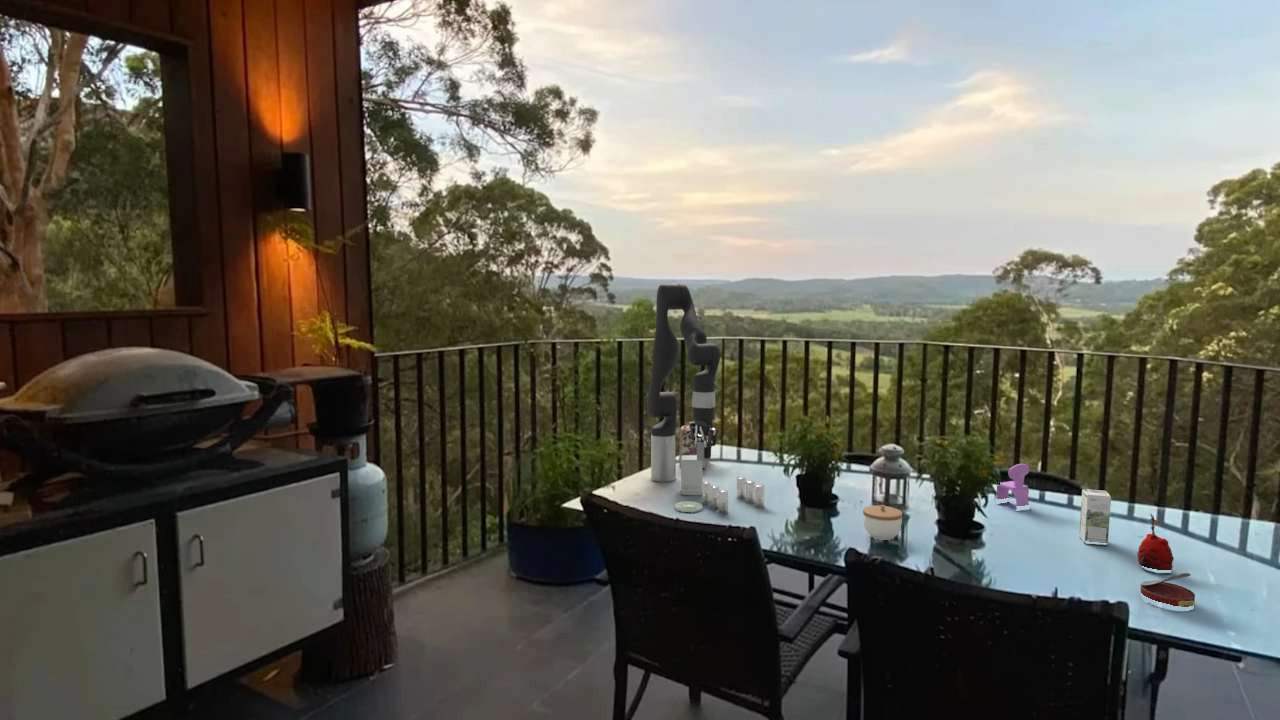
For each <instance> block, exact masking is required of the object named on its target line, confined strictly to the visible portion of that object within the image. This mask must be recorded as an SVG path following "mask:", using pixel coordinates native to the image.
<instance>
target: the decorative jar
mask: <svg viewBox="0 0 1280 720" xmlns="http://www.w3.org/2000/svg"><path fill="white" fill-rule="evenodd" d="M690 423H695V421H689V422H688V424H685V425H682V426H681V427H680V432H679V435H678V437H679V451H678V452H679V458H678V460H679V468H680V469H681V456H684V455H696V444H695V441H692V436H691V429H690ZM694 430H695V429H694ZM694 436H695V433H694ZM705 437H709V436H705ZM710 461H711V459H710V460H708V461H702V468H704V469H703V470H707V468H708V469H709V466H710Z"/></svg>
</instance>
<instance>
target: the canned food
mask: <svg viewBox="0 0 1280 720" xmlns="http://www.w3.org/2000/svg"><path fill="white" fill-rule="evenodd" d="M1191 575H1192V573H1189V572H1186V573H1185V572H1183V573H1180V574H1178V575H1177V574H1174V575H1171V576H1168V577H1167V578H1163V579H1162V578H1161V579H1153V580H1149V581H1148V580H1147V581H1143V582H1141V583H1140V592H1141V593H1142V594H1143V595H1144V596H1146V597H1148V598H1150V599H1152V600H1155V601H1158V602H1162V603H1166V604H1170V605H1173V606H1181V607H1189V606H1193V605H1194V606H1195V597H1196V594H1195V593H1194V592H1193V591H1192V590H1190V589H1189V588H1187V587H1184V586H1182V585H1179V584H1174V583H1173V582H1168V581H1173V580H1177V579H1178V580H1179V579H1182V578H1187V577H1191Z"/></svg>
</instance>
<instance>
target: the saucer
mask: <svg viewBox="0 0 1280 720" xmlns="http://www.w3.org/2000/svg"><path fill="white" fill-rule="evenodd" d="M675 509H676V510H675ZM674 510H675V511H676V512H679V511H681V512H680V513H684V512H691V513H690V514H692V513H693V512H694V513H699V512H702V510H703V504H702V503H700V502H696V501H679V502H677V503H675V504H674ZM698 511H699V512H698ZM694 513H693V514H694Z"/></svg>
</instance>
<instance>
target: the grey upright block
mask: <svg viewBox="0 0 1280 720" xmlns="http://www.w3.org/2000/svg"><path fill="white" fill-rule="evenodd" d="M707 443H708V440H707ZM704 447H705V446H704V441H703V440H697V460H700V461H708V460H710V461H711V458H708V459H706V458H704Z"/></svg>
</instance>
